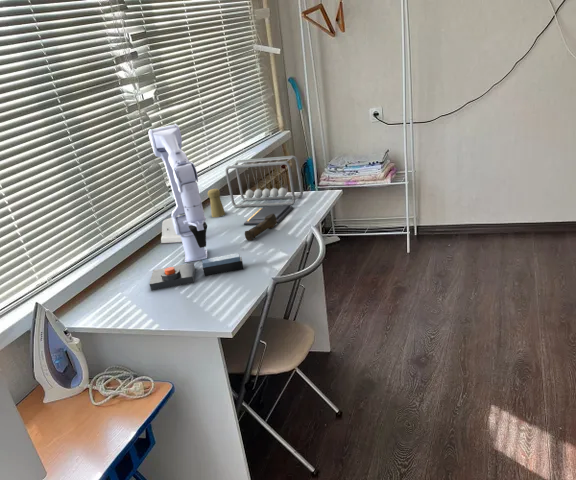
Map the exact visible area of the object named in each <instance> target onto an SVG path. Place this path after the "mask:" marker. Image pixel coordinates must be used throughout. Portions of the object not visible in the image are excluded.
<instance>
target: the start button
mask: <svg viewBox="0 0 576 480" xmlns="http://www.w3.org/2000/svg"><path fill="white" fill-rule="evenodd" d="M165 268H166V269H165V274H166V275H170V274H173V273H175V269H174V267H173V266H169V268H167V267H165Z"/></svg>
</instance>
